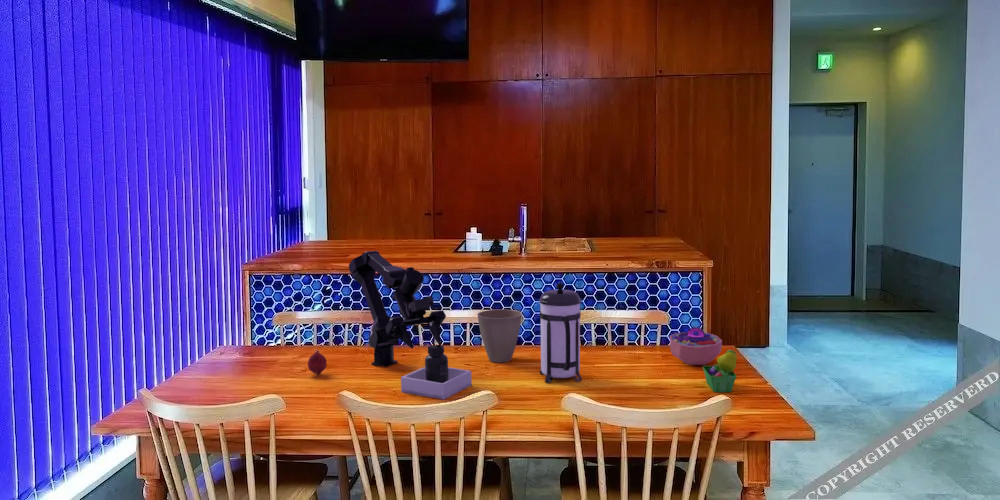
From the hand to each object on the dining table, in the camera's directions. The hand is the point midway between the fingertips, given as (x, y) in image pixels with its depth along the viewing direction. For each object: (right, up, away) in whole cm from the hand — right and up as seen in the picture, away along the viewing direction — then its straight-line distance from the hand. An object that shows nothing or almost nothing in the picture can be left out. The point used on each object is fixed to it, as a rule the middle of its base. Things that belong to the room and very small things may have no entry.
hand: (426, 345), depth 232 cm
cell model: (+86, -9, +20) cm, 89 cm away
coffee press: (+42, -11, +5) cm, 43 cm away
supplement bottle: (+4, -12, -3) cm, 13 cm away
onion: (-36, -11, +13) cm, 40 cm away
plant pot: (+22, -9, +27) cm, 36 cm away
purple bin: (+3, -13, -3) cm, 13 cm away
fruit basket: (+88, -12, -6) cm, 89 cm away
